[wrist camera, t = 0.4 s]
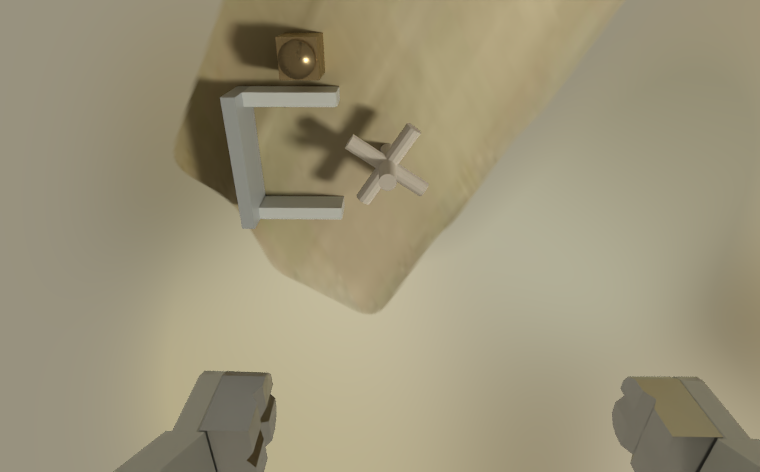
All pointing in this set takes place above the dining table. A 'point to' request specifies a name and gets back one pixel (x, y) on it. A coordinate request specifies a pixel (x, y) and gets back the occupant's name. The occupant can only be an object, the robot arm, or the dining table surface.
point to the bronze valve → (300, 56)
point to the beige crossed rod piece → (387, 164)
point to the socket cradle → (247, 153)
